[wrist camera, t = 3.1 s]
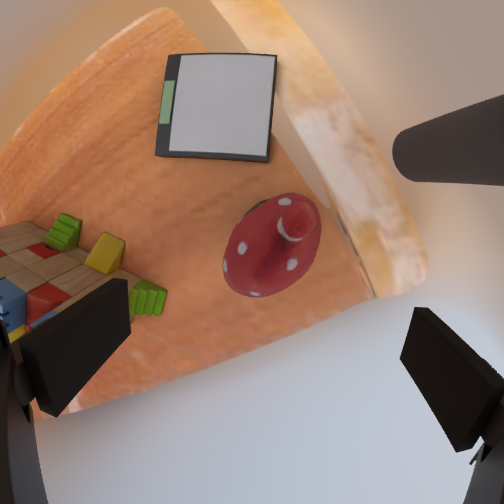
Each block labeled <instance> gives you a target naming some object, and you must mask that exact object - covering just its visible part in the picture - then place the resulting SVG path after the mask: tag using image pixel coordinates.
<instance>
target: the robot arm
mask: <svg viewBox="0 0 504 504" xmlns="http://www.w3.org/2000/svg"><path fill="white" fill-rule="evenodd" d="M130 334H131V327H130V314H129V298H128V280H127V279H120V278H112V279H110V280H109V281H107V282H106V283H104V284H102V285H101V286H99V287H98V288H96V289H95V290H93V291H91V292H90V293H88V294H87V295H85V296H84V297H82V298H81V299H79V300H78V301H76V302H75V303H73V304H72V305H70V306H68V307H67V308H65V309H64V310H62V311H61V312H59V313H58V314H56V315H55V316H54V317H51V318H48V319H45V320H44V321H42V322H41V323H39V324H38V325H37V327H36V326H35V327H33V328H32V329H30V331H28V332H26V333H25V334H23V335H22V336H20V337H19V338H17V339H16V340H15V341H13V342H12V343H10V341H9V337H8V333H7V329H6V325H5V322H4V321H3V320H1V319H0V504H48V500H47V496H46V492H45V488H44V483H43V479H42V474H41V469H40V464H39V458H38V452H37V445H36V438H35V429H34V420H33V410H32V407H31V405H30V402H31V401H32V400H33V399H34V398H35V397H36V400H37V403H38V405H39V408H40V410H41V411H43V412H45V413H48V414H50V415H52V416H54V417H58V416H59V414H60V413H61V412H62V411H63V410H64V409H65V407H66V406H67V405H68V404H69V403H70V402H71V400H72V399H73V398H74V397H75V396H76V395H77V393H78V392H79V391H80V390H81V389H82V388H83V387H84V385H85V384H86V383H87V382H88V381H89V380H90V379H91V377H92V376H93V375H94V374H95V373H96V372H97V371H98V369H99V368H100V367H101V366H102V365H103V364H104V363H105V362H106V360H107V359H108V358H109V357H110V356H111V355H112V354H113V353H114V352H115V350H116V349H117V348H118V347H119V346H120V345H121V344H122V343H123V342H124V340H125V339H126V338H127V337H128V336H129V335H130ZM400 360H401V361H402V363H403V365H404V366H405V368H406V369H407V371H408V372H409V374H410V376H411V377H412V379H413V380H414V382H415V384H416V385H417V387H418V388H419V390H420V392H421V393H422V395H423V396H424V398H425V400H426V401H427V403H428V405H429V406H430V408H431V410H432V411H433V413H434V415H435V416H436V418H437V420H438V422H439V423H440V425H441V427H442V428H443V430H444V432H445V434H446V435H447V437H448V439H449V441H450V443H451V444H452V446H453V448H454V450H455V451H456V452H461V451H465V450H468V449H471V448H473V446H474V445H475V443H476V442H477V440H478V439H479V437H480V436H481V437H482V439H483V440H484V443H483V444H482V446H481V447H480V449H479V450H478V452H477V453H476V454H475V456H474V457H473V459H472V460H471V461H470V463H469V464H470V465H472V463H473V462H474V461H475V460H477V461H476V464H475V468H474V472H473V475H472V478H471V482H470V485H469V488H468V491H467V494H466V497H465V500H464V502H463V504H504V379H503V378H502V376H501V375H500V374H499V373H497V371H496V370H495V369H494V368H492V366H491V365H490V364H489V363H488V362H487V361H486V360H484V359H483V358H481V357H480V356H479V355H478V354H477V353H476V352H475V351H474V350H473V349H472V348H471V347H470V346H469V345H468V344H467V343H466V342H465V341H464V340H462V339H461V338H460V337H459V336H458V335H457V334H456V333H455V332H454V331H453V330H452V329H451V328H450V327H449V326H447V324H445V323H444V322H443V321H442V320H441V319H440V318H439V317H438V316H437V315H435V314H434V313H433V312H432V311H431V310H430V309H429V308H423V307H414V311H413V315H412V319H411V322H410V326H409V330H408V333H407V337H406V340H405V343H404V346H403V350H402V353H401V356H400Z"/></svg>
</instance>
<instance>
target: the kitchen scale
mask: <svg viewBox="0 0 504 504" xmlns="http://www.w3.org/2000/svg"><path fill="white" fill-rule="evenodd" d="M276 71H277V55H269V54H252V53H190V54H173V55H169V56H168V61H167V67H166V73H165V79H164V85H163V92H162V99H161V106H160V114H159V122H158V131H157V140H156V150H155V156H159V157H172V158H200V159H219V160H234V161H247V162H259V163H268V161H269V150H270V139H271V127H272V117H273V105H274V94H275V83H276Z"/></svg>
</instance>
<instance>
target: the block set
mask: <svg viewBox="0 0 504 504" xmlns="http://www.w3.org/2000/svg"><path fill="white" fill-rule="evenodd" d="M80 227H81V221H79V220H77V219H75V218H73V217H71V216H69V215H66V214H64V213H62V214H60V216H59V220H57V221H55V223H54V227H53V228H50V230H49V232H48V231H46V230H44V229H41V228H40V227H38V226H36V225H34V224H32V223H30V222H28V221H25V222H21V223H17V224H13V225H9V226H4V227H0V319H1V320H3V321H4V322H5V325H6V329H7V333H8V337H9V341H10V343H12V342H13V341H15V340H16V339H17V338H19V337H20V336H22V335H23V334H25V333H26V332H28V331H30V329H32V328H33V327H35V326H36V327H37V325H38V324H39V323H41V322H42V321H44V320H45V319H48V318H51V317H54V316H55V315H56V314H58V313H59V312H61V311H62V310H64V309H65V308H67V307H68V306H70V305H72V304H73V303H75V302H76V301H78V300H79V299H81V298H82V297H84V296H85V295H87V294H88V293H90V292H91V291H93V290H95V289H96V288H98V287H99V286H101V285H102V284H104V283H106V282H107V281H109V280H110V279H112V278H120V279H127V280H128V298H129V314H130V325H131V323H132V319H133V315H134V314H137V315H139V316H142V315H143V314H145V315H148V316H151V315H152V314H154V315H156V316H160V315H161V313H162V309H163V306H164V302H165V298H166V295H167V290H165V289H163V288H161V287H159V286H156V285H154V284H152V283H149V282H147V281H145V280H142V279H141V278H139V277H137V276H135V275H133V274H131V273H129V272H126V271H124V270H122V269H120V268H119V265H120V262H121V257H122V253H123V250H124V246H125V242H124V241H123V240H120V239H118V238H116V237H114V236H112V235H110V234H108V233H105V232H103V233H102V235H101V236H100V238H99V240H98V241H97V243H96V244H95V246H94V247H93V249H92V251H91V252H90V253H89V252H87V251H85V250H83V249H81V248H79V247H77V246H76V245H77V240H78V236H79V231H80Z"/></svg>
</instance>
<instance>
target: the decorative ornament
mask: <svg viewBox="0 0 504 504" xmlns="http://www.w3.org/2000/svg"><path fill="white" fill-rule="evenodd" d="M320 236H321V221H320V215H319V212H318V209H317V207H316V206H315V204H314V203H313V202H312V201H311V200H310V199H308V198H307V197H305V196H303V195H300V194H296V193H286V194H282V195H280V196H277V197H274V198H272V199H268V200H264V201H262V202H260V203H258V204H256V205H255V206H254V207H253V208H252V209H251V210H250V211H248V212H247V213H246V214H245V215H244V217H243V218H241V219H240V220H239V222H238V223H237V225H236V226H235V228H234V230H233V232H232V234H231V236H230V239H229V242H228V245H227V248H226V251H225V254H224V258H223V272H224V277H225V280H226V282H227V284H228V285H229V286H230V287H231V288H232V289H233V290H234V291H235V292H237V293H239V294H242V295H245V296H249V297H266V296H269V295H273V294H275V293H278V292H280V291H282V290H284V289H286V288H287V287H289V286H290V285H292V284H293V283H294V282H296V281H297V280H298V279H300V278H301V277H302V276H303V275H304V274H305V273H306V272H307V271H308V270H309V269H310V267H311V265H312V263H313V261H314V258H315V256H316V252H317V249H318V246H319V242H320Z"/></svg>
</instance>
